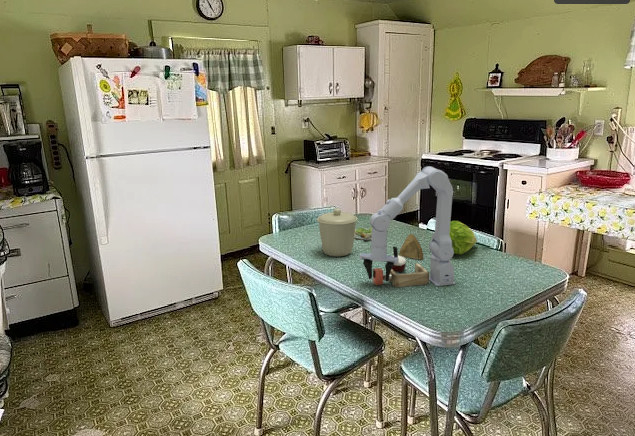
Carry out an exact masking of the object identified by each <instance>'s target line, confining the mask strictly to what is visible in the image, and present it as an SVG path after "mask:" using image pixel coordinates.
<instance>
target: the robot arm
mask: <svg viewBox="0 0 635 436" xmlns="http://www.w3.org/2000/svg"><path fill="white" fill-rule="evenodd" d="M430 186H431V187H432V188H433V189H434V190H435V192H437V198H436V209H435V210H436V211H435V213H436V214H435V223H434V233H433V234H432V236H431V240H430V242H429V244H428V248H429V251H430V253H431V256H430V268H429V269H430V271H429V282H431V283H432V284H433V285H435V286H436V287H439V286H440V287H441V286H449V285H455V284H456V281H454V278H455V267H454V266H453V264H452V261H451V259H452V258H453V256H454V255H455V254H454V251H453V248H452V241H451V238H450V236H449V232H450V222H451V219H452V218H451V217H452V205H453V194H454V193H453V192H454V188H453V185H452V184H451V182H450V180H449V176H448V174H447V173H445V171H443V170H441V169H438V168H435V167H434V166H432V165H431V166H428V165H427V166H424V167H423V168H422V170H421V171H419V172H418V173H417V174H416V175H415V177H414V178H413V179H412V180H411V181H410V182H409V184H408V185H407V186H406V187H405V188H404V189H403V190H402V191H401V193H400V194H399V195H398V196H396V197H391V198H390V199H387V200H386V204H384V205H383V206H382V207H381V208H380V209H378V210H377V212H375V213H373V214H372V215H371V217H370V219H369V223H370V225H371V227H372V233H371V240H370V241H371V242H370V244H371V246H370V247H371V248H370V249H371V251H370V252H371V253H361V252H360V254H359V261H363V262H362V265H363V266H364V268H365V270H366V272H367V277H368V280H371V279H373V262H382V263H386V264H384V265H385V266H384V267H385V275H386V278H385V280H384V281H385V282H388V281H389V275H390V272H391V269H392V267H393V265H394V263H395V264H398V263H399V258H398V257H393V255H388V250H387V248H388V232H387V231H388V228H389V227H390V225H391V222H392V221H393V220H394V219H395V218H396V217H397V216H398V215H399V214H400V213H401V212H402V211H403V210H404V204H406V202H408V201H409V200H410V199H411V198H412V197H413V196H414V195H415V194H416V193H418V192H419V191H420V190H425V189H426V190H427V189H431V188H430Z"/></svg>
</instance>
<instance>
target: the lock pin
mask: <svg viewBox="0 0 635 436" xmlns="http://www.w3.org/2000/svg"><path fill="white" fill-rule="evenodd" d="M396 274H397V275H399V274H402V272H399V273H396ZM385 278H386V274H384V269H382V268H381V267H379V268H378V267H377V268H372V283H373V284H374V285H375V286H378V285H379V286H380V285H383V284H384V281H386V280H385ZM389 279H393V274H390V275H389Z"/></svg>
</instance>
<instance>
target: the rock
mask: <svg viewBox="0 0 635 436" xmlns="http://www.w3.org/2000/svg"><path fill="white" fill-rule="evenodd" d="M398 255H399V256H402V257H404V258H408V259H415V260H424V252H423V248H422V245H421V243H420V242H419V240H418V239H417V238H416V236H415V235H414V234H412V233H409V234H408V236H407V237H406V239H404V242H403V243H402V246H401V247H400V250H399V251H398Z"/></svg>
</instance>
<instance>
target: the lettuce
mask: <svg viewBox="0 0 635 436" xmlns="http://www.w3.org/2000/svg"><path fill="white" fill-rule="evenodd" d="M449 236H450V238H451V241H452V248H453V251H454V254H453V255H464V253H466V252H468V251H470V250H471V249H472V247H473V246H474V245H475V244H477V242H478V239H477V237H476V235H475V233H474V231H473V230H472V229H471V228H470V227H469V226H467V225H466V224H464V223H462V222H461V221H459V220H452V221H451V220H450V232H449Z"/></svg>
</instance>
